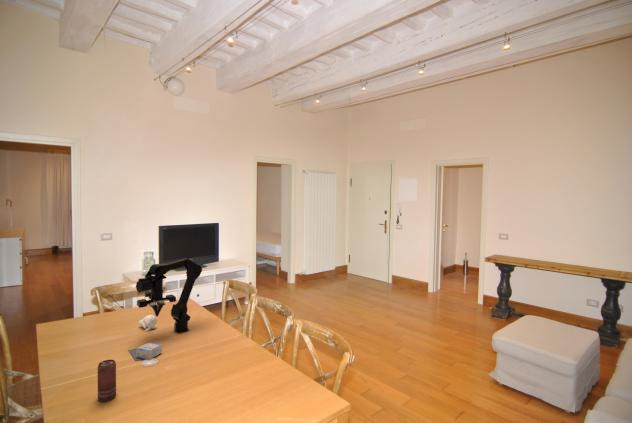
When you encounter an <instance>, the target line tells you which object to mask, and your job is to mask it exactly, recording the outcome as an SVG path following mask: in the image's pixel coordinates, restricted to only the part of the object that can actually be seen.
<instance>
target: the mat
mask: <svg viewBox="0 0 632 423" xmlns="http://www.w3.org/2000/svg"><path fill="white" fill-rule="evenodd" d="M137 348H138V347H135V348H132V349H131V348H130V349H128V353H129V354H130V356H131V357H132V359H133V360H134V361H135V362H138V361H141V360H142V361H143V360H145V359H144V358H136V349H137ZM156 356H158V355H156ZM156 356H155V357H156Z"/></svg>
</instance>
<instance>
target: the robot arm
mask: <svg viewBox="0 0 632 423" xmlns="http://www.w3.org/2000/svg"><path fill="white" fill-rule="evenodd" d="M183 267H184V269H186V272H185V273H186V280H185V282H184V285H183V288H182V290H181V293H180V296H179V299H178V302H177V297H176V296H175V295H174V294H166V295H165V297H164V296H163V295H164V294H163V293H164V290H163V288H164V287H163V286H164V280H165V279H167V276H165V275H167V273H168V272H170V271H173V270H177V269H180V268H183ZM202 272H203V267H202V265H200V264H197V263H195V262H194V261H192V260H191V259H189V258H186V257H182V258H181V259H177V260H174V261H170V262H167V263H155V264H151V265H150V267H149V268H148V271H147V272H146V274H145V276H144V277H141V278H138V281H137V282H136V283H135V288H136V291H137V292H138V293H141V292H144V297H145V298H143V299H142V298H141V299H137V301H136V306H137V307H138V308H140V309H141V308H146V307H147V306H149V307H151V308H152V309H153V312H154V316H155V317H156V318H157V317H159V314H160V312H161V310H162V309H163V307H164V306H165V305H166V303H165V302H168V301H169V302H170V303H174V302H175V304H172V307H171V309H170V316H171V317H172V320H174V322H175V323H174V324H173V327H174V328H173V330H174V331H175V332H176V333H177V334H181V333H184V332H188V331H190V329H188V328H189V326H188V325H189V321H190V319H191V316H190V315H189V314H188V301H189V298H190V297H191V294H192V291H193V287H194V286H195V282H196V280H197V279H199V277H200V276H201V274H202ZM146 298H148V299H146ZM176 302H177V303H176Z"/></svg>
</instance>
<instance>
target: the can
mask: <svg viewBox="0 0 632 423" xmlns="http://www.w3.org/2000/svg"><path fill="white" fill-rule="evenodd" d="M116 396H117V362H116V360H114V359H105V360H103V361H100V362H99V363H98V365H97V400H98V401H99V402H101V403H105V402H109V401H111V400H114V399H115V398H116Z"/></svg>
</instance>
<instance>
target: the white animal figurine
mask: <svg viewBox="0 0 632 423" xmlns="http://www.w3.org/2000/svg"><path fill="white" fill-rule="evenodd" d="M157 321H158V319H157V317H156V315H153V314H148V315H146V316H144V318H141V319H140V320H139V321H138V325H139V328H143V329H145V332H148V331H149V332H150V330H151V329H153V330H154V329H155V328H156V325H157V323H158V322H157Z"/></svg>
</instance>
